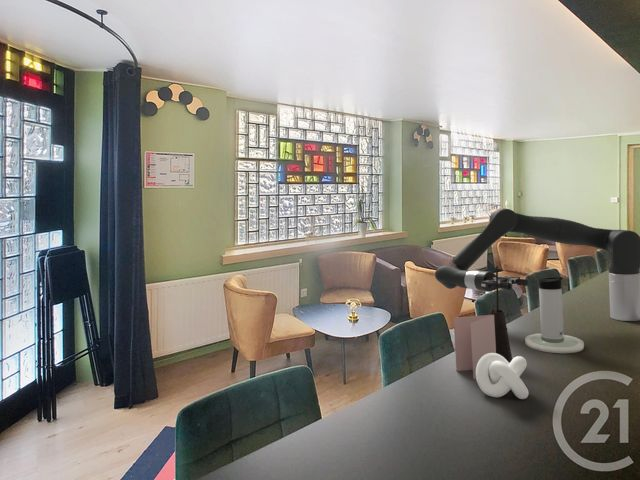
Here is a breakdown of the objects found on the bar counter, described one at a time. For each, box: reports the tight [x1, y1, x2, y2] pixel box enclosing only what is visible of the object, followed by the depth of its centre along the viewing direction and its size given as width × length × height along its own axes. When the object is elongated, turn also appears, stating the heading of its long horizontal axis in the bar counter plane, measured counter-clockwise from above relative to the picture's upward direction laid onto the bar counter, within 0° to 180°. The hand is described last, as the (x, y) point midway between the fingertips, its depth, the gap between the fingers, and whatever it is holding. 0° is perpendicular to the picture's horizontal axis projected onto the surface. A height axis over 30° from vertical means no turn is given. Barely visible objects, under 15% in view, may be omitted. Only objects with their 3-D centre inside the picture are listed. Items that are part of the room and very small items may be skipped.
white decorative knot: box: [475, 353, 529, 400], centre depth 94 cm, size 11×12×9 cm
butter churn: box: [489, 265, 513, 363], centre depth 117 cm, size 9×10×28 cm
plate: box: [524, 332, 585, 354], centre depth 126 cm, size 16×16×2 cm
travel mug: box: [538, 276, 565, 343], centre depth 126 cm, size 6×7×20 cm
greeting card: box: [453, 314, 496, 380], centre depth 108 cm, size 11×7×15 cm, turn 92°
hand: (519, 284), depth 135 cm, fingers open, 8 cm apart
